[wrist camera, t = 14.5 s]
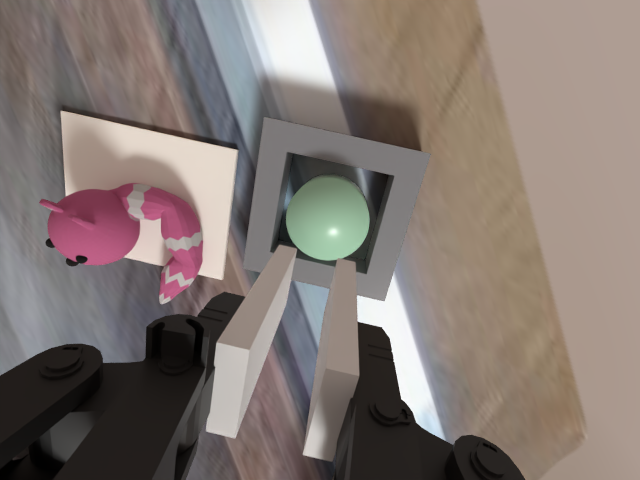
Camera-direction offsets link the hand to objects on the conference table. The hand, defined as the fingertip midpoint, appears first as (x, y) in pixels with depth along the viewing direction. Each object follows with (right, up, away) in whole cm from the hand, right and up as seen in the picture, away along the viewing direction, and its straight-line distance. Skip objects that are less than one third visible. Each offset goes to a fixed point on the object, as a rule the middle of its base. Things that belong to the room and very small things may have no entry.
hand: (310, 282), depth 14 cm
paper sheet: (-15, +5, +15) cm, 22 cm away
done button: (+1, +4, +12) cm, 13 cm away
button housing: (+1, +5, +14) cm, 14 cm away
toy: (-15, +2, +16) cm, 22 cm away
